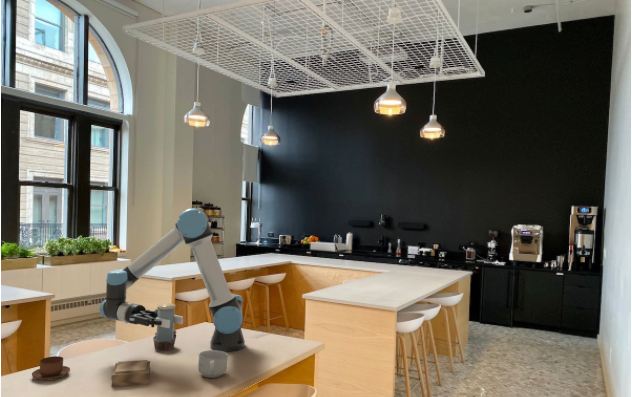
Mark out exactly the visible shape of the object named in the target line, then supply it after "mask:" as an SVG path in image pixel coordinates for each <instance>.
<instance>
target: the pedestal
mask: <svg viewBox="0 0 632 397" xmlns="http://www.w3.org/2000/svg"><path fill="white" fill-rule="evenodd" d="M150 374H151V360H148V359H143V360H142V359H141V360H127V361H125V360H124V361H118V362H115V365H114V367H113V370H112V374H111V384H110V385H111V388H113V387H114V388H115V387H125V386H126V387H127V386H139V385H149V382H150Z"/></svg>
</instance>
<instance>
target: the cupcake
mask: <svg viewBox="0 0 632 397" xmlns="http://www.w3.org/2000/svg"><path fill="white" fill-rule="evenodd" d="M154 333H155V334H154V337H152V338H153V339H152V340H153V344H154V346H153V347H154V350H155V351H158V352H167V351H171V350H173V349H174V348H175V342H176V338H177V331H176V329H175V327H174V332H173V339H172V340H170V341H158V340H156V338H157V331H156V332H154Z"/></svg>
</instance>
